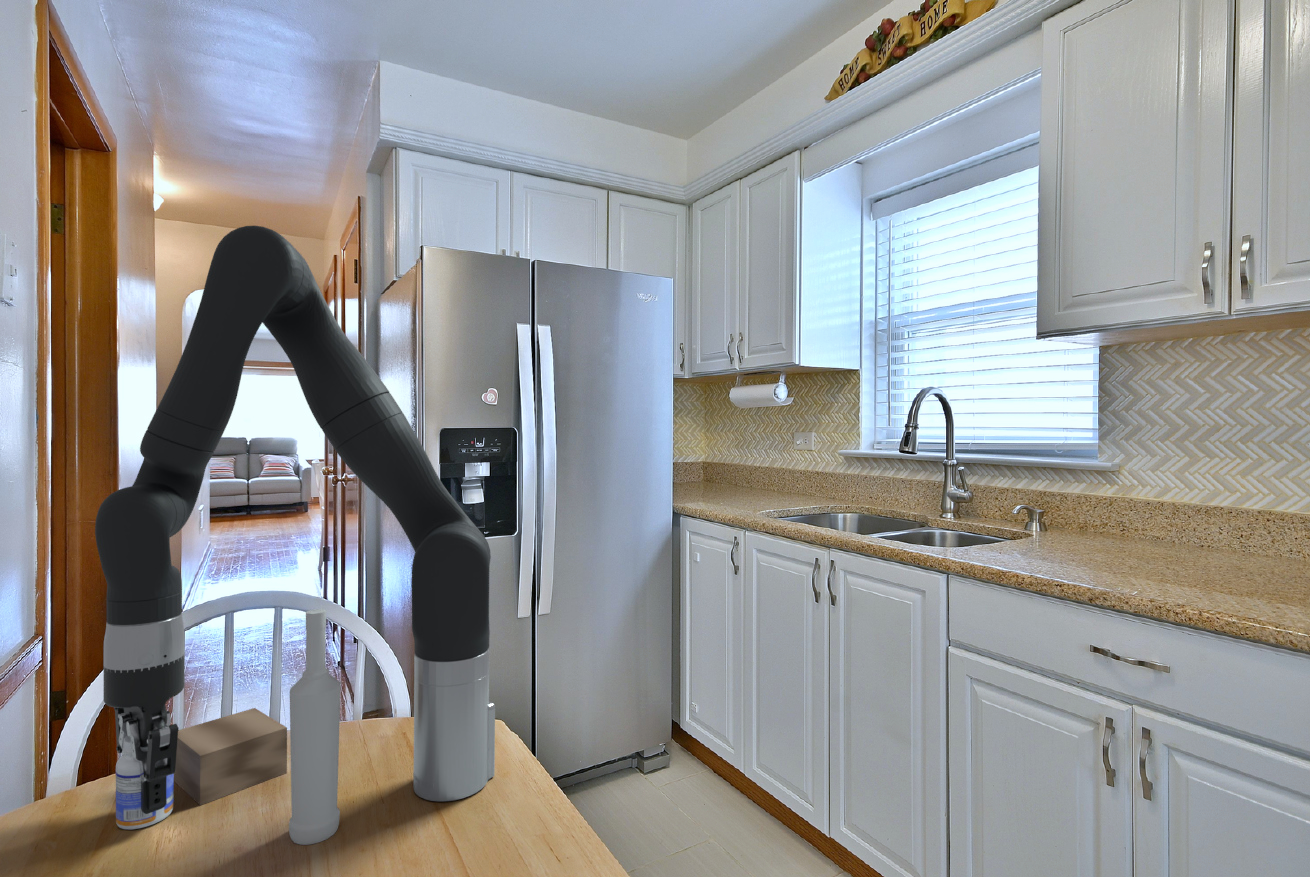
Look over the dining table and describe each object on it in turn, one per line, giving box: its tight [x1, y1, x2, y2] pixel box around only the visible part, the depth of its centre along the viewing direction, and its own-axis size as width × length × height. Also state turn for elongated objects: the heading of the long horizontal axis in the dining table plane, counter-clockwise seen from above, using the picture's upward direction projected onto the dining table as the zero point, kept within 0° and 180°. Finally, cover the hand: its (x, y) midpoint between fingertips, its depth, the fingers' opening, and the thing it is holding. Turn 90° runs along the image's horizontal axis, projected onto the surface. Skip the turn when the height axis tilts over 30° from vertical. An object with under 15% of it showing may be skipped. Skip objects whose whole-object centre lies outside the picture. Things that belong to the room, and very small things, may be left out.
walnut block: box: [174, 707, 288, 806], centre depth 89 cm, size 10×10×6 cm
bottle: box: [288, 608, 341, 846], centre depth 76 cm, size 5×5×25 cm
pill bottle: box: [115, 735, 175, 831], centre depth 79 cm, size 5×5×10 cm
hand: (145, 800), depth 79 cm, fingers closed on pill bottle, 5 cm apart
